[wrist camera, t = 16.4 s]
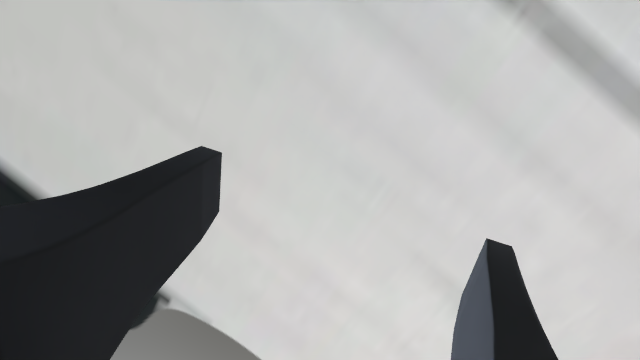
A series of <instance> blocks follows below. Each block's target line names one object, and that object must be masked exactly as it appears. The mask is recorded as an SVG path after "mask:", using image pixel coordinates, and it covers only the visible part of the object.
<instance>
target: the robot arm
mask: <svg viewBox="0 0 640 360" xmlns="http://www.w3.org/2000/svg"><path fill="white" fill-rule="evenodd" d="M221 159H222V153H221V152H218V151H215V150H212V149H209V148H206V147H203V146H201V147H198V148H195V149H192V150H190V151H187V152H185V153H182V154H180V155H177V156H175V157H172V158H170V159H168V160H165V161H163V162H160V163H158V164H155V165H153V166H150V167H148V168H145V169H143V170H140V171H138V172H135V173H132V174H130V175H127V176H124V177H121V178H118V179H115V180H113V181H110V182H107V183H104V184H101V185H98V186H95V187H91V188H88V189H84V190H81V191H77V192H73V193H69V194H65V195H61V196H57V197H52V198H47V199H41V200H36V201H31V202H26V203H21V204H14V205H7V206H0V360H110V358H111V357H112V355H113V354H114V352H115V351H116V349H117V347H118V346H119V344H120V343H121V341H122V340H123V338H124V336H125V335H126V334H127V332H128V331H129V329H130V328H131V326H132V325H133V323H134V322H135V320H136V319H137V318H138V316H139V315H140V313H141V312H142V310H143V309H144V307H145V306H146V305H147V304H148V302H149V301H150V300H151V299H152V297H153V296H154V295H155V294H156V292H157V291H158V290H159V289H160V288H161V287H162V285H163V284H164V283H165V282H166V281H167V280H168V278H169V277H170V276H171V275H172V274H173V273H174V271H175V270H176V269H177V268H178V267H179V266H180V264H181V263H182V262H183V261H184V260H185V259H186V257H187V256H188V255H189V254H190V253H191V251H192V250H193V249H194V248H195V247H196V245H197V244H198V243H199V242H200V241H201V239H202V238H203V236H204V235H205V233H206V232H207V230H208V229H209V227H210V225H211V224H212V222H213V220H214V219H215V217H216V216H217V214H218V212H219V202H220V180H221ZM451 360H558V358H557V356H556V354H555V352H554V350H553V349H552V347H551V345H550V343H549V340H548V338H547V336H546V334H545V332H544V330H543V328H542V326H541V324H540V321H539V319H538V317H537V314H536V312H535V310H534V307H533V305H532V302H531V300H530V297H529V295H528V292H527V289H526V287H525V284H524V281H523V278H522V275H521V272H520V269H519V266H518V263H517V260H516V256H515V253H514V250H513V248H512V246H509V245H505V244H502V243H499V242H496V241H493V240H490V239H487V238H486V241H485V243H484V245H483V248H482V250H481V252H480V255H479V257H478V259H477V261H476V264H475V266H474V268H473V271H472V273H471V275H470V278H469V280H468V282H467V284H466V287H465V289H464V291H463V294H462V297H461V301H460V305H459V309H458V314H457V318H456V323H455V327H454V334H453V343H452V353H451Z"/></svg>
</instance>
